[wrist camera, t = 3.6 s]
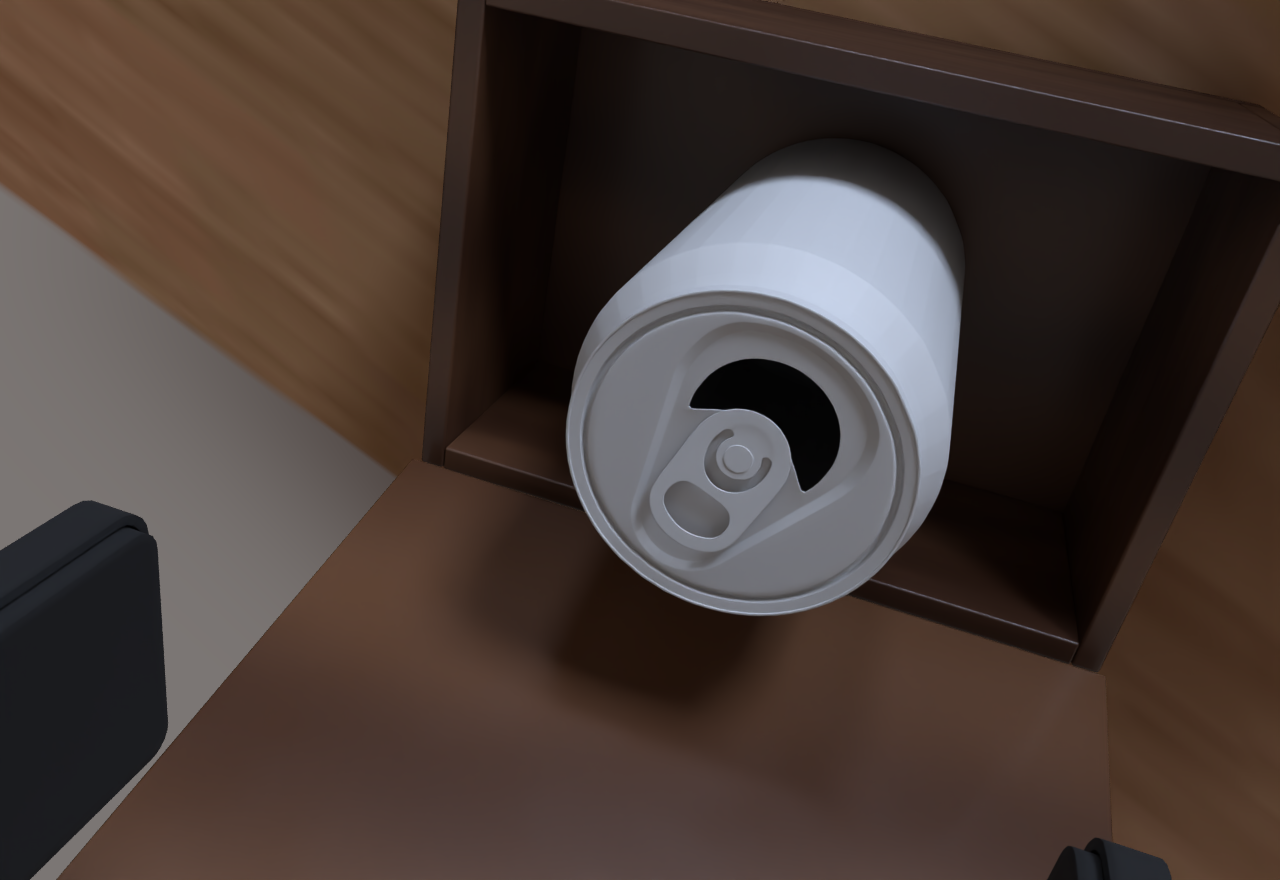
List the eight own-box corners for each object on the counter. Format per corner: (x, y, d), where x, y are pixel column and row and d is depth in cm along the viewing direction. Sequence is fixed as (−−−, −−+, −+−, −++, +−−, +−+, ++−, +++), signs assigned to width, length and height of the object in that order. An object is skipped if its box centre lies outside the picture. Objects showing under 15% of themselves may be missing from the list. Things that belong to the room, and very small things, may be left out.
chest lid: (25, 913, 16) (36, 935, 16) (1136, 1396, 13) (1113, 1409, 13) (412, 457, 25) (413, 479, 25) (1107, 675, 22) (1093, 696, 22)
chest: (576, -40, 26) (458, -34, 20) (1261, 105, 23) (1352, 159, 17) (524, 366, 31) (420, 461, 25) (1076, 526, 28) (1098, 674, 22)
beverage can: (1022, 238, 25) (1046, 447, 14) (854, 424, 28) (776, 704, 18) (810, 78, 25) (681, 173, 14) (665, 283, 28) (476, 481, 18)
